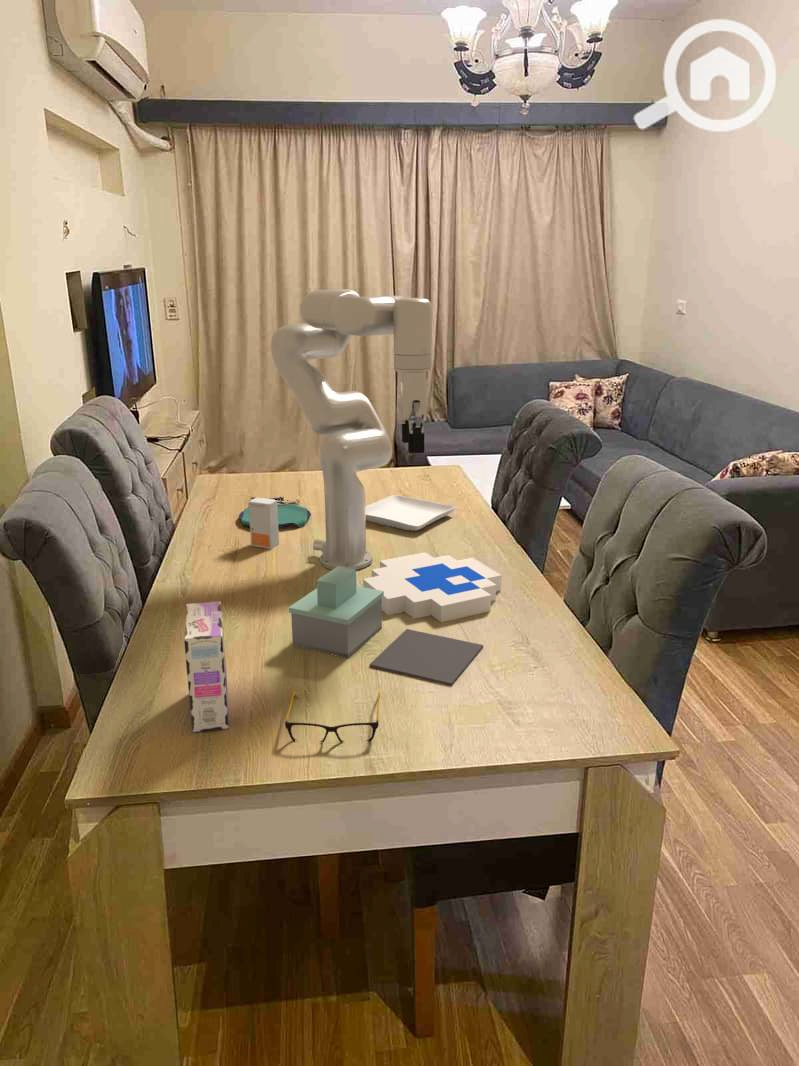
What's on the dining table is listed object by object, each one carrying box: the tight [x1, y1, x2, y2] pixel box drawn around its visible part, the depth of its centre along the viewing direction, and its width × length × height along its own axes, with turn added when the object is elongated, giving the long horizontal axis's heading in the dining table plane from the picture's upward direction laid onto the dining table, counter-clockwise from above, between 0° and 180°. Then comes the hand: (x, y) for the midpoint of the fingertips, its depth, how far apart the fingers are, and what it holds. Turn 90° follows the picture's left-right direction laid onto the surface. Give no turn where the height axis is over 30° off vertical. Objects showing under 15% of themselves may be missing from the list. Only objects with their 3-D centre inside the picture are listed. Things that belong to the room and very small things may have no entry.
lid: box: [288, 566, 384, 625], centre depth 157 cm, size 13×15×6 cm
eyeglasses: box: [284, 691, 381, 744], centre depth 132 cm, size 14×14×4 cm
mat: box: [369, 628, 484, 687], centre depth 152 cm, size 16×16×1 cm
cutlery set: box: [238, 496, 312, 528], centre depth 233 cm, size 20×30×2 cm, turn 6°
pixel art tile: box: [362, 552, 502, 623], centre depth 180 cm, size 28×4×28 cm
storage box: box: [290, 598, 383, 659], centre depth 159 cm, size 12×14×7 cm
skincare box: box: [248, 496, 280, 550], centre depth 206 cm, size 6×4×12 cm
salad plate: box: [365, 494, 456, 532], centre depth 228 cm, size 21×21×3 cm
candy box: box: [184, 600, 230, 733], centre depth 132 cm, size 14×6×16 cm, turn 12°
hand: (412, 447), depth 168 cm, fingers open, 9 cm apart
